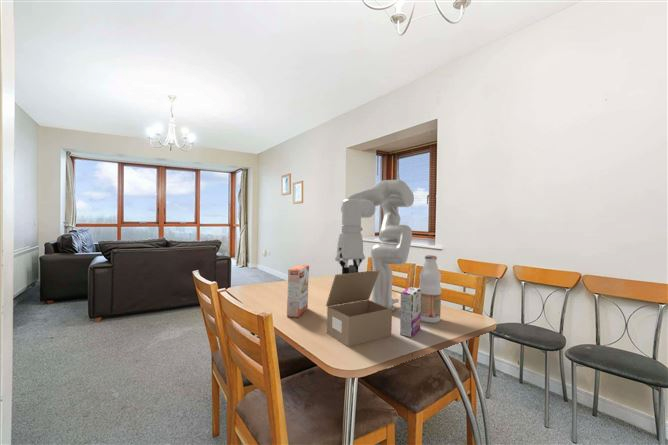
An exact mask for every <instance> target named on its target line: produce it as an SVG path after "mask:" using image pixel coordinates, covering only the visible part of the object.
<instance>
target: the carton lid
mask: <svg viewBox="0 0 668 445" xmlns="http://www.w3.org/2000/svg"><path fill="white" fill-rule="evenodd" d="M347 267H348V273H347V274H342V273H339V274H335V275H334V278H333V282H332V284H331V287H330V292H329V295H328V297H327V298H328V299H327V301H326V304H325V306H326V307H330V306H336V305H341V304H347V303H353V302H359V301H365V300H370V298H371V296H372V290H373V287H374V285H375V282H376V279H377V276H378V274H379V270H375V271H373V270H367V271H358V272H356V267H355V266H354V265H353V264H349V265H347Z"/></svg>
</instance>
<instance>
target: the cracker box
mask: <svg viewBox="0 0 668 445" xmlns="http://www.w3.org/2000/svg"><path fill="white" fill-rule="evenodd" d="M287 271H288V272H287V273H288V274H287V302H286V306H287V307H286V317H289V318H290V317H291V318H292V317H293V318H300V316H301V315H303V314H304V313H305V312H306V310H308V307H309V306H308V304H309V303H308V302H309V278H310V277H309V275H310V265H308V264H297V265H295V266H293V267H291V268H289V269H288V270H287Z"/></svg>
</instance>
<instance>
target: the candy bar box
mask: <svg viewBox="0 0 668 445" xmlns="http://www.w3.org/2000/svg"><path fill="white" fill-rule="evenodd" d="M421 322H422V321H421V289H420V288H419V287H413V286H410V287H407V288H406V289H404V290H403V291H401V292H400V323H399V325H400V327H399V328H400V331H399V332H400V336H403V337H408V338H413V337H414V336H415V335H416V334H417V333H418V332H419V331H420V330H421Z"/></svg>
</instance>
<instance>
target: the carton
mask: <svg viewBox="0 0 668 445" xmlns="http://www.w3.org/2000/svg"><path fill="white" fill-rule="evenodd" d="M326 307H327V306H326ZM326 310H327V311H326V334H327V335H329V336H331V337H332V338H334V339H335V340H337V341H338V342H340V343H342V344H343V345H344V346H346V347H347V348H349V347H354V346H357V345H360V344H364V343H368V342H373V341H375V340H378V339H383V338H386V337H391V336H392V327H393V326H392V324H393V323H392V322H393V311H392V309H390V308H388V307H385V306H383V305H380V304H378V303H375V302H373V301H372V300H371V299H369V300H364V301H358V302H352V303H346V304H340V305H334V306H328V307H327V309H326Z"/></svg>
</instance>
